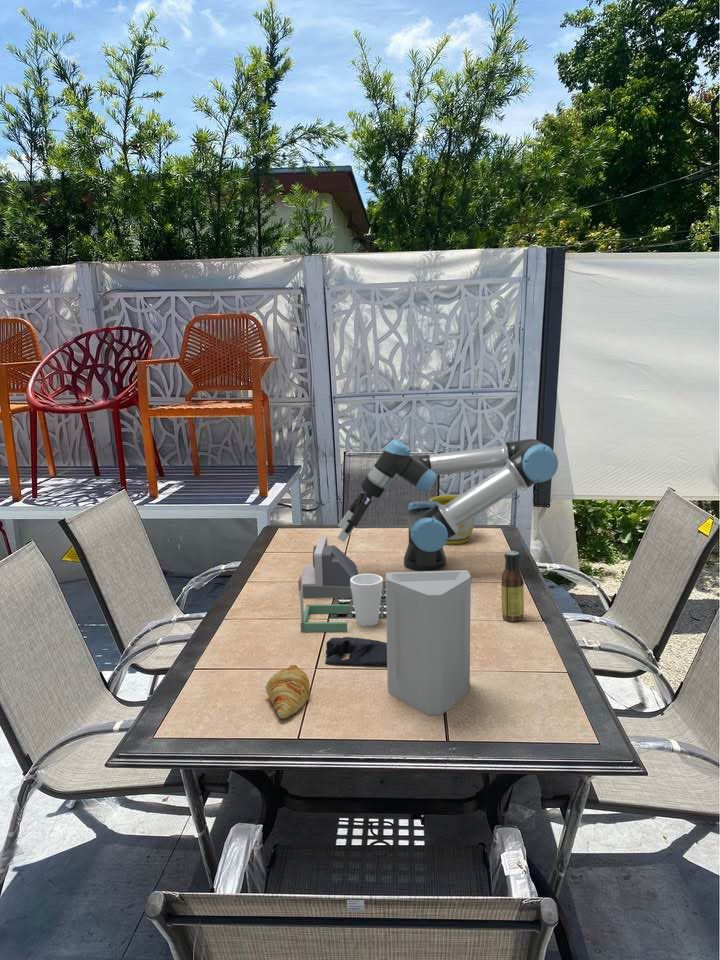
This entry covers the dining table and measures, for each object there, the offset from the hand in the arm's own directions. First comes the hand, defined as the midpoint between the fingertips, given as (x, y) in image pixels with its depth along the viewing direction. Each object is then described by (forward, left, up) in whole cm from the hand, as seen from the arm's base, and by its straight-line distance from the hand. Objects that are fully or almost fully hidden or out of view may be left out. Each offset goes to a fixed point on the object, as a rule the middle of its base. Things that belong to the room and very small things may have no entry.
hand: (340, 533), depth 236 cm
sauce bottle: (-52, +34, -16) cm, 64 cm away
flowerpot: (-41, -43, -16) cm, 62 cm away
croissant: (+7, +79, -16) cm, 81 cm away
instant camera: (+3, +8, -16) cm, 18 cm away
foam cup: (-10, +36, -16) cm, 40 cm away
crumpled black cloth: (-11, +57, -17) cm, 60 cm away
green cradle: (+2, +37, -16) cm, 41 cm away
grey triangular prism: (-26, +79, -16) cm, 84 cm away
